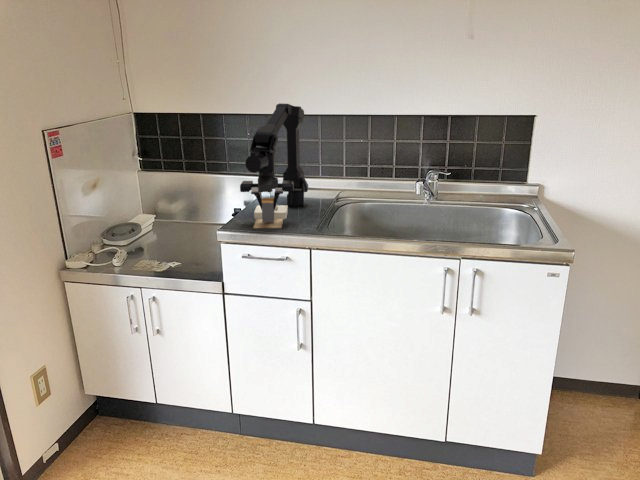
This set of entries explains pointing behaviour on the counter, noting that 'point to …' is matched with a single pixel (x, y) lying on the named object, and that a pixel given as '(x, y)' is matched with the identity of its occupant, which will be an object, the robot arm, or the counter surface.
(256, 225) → the cork pad
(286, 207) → the block
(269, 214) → the plug
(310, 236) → the counter surface
